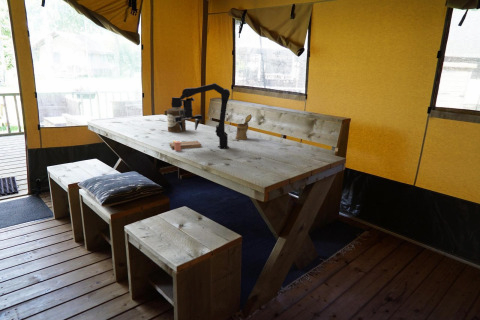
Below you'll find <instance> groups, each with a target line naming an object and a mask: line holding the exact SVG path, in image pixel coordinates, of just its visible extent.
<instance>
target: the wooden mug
mask: <svg viewBox="0 0 480 320" xmlns="http://www.w3.org/2000/svg"><path fill="white" fill-rule="evenodd" d="M252 117H253V116H252V114H249V115H246V117H245V119H244V122H243V123H237V126H236V135H235V139H236V140H239V141H242V140H243V141H244V140H247V139H248V135H247V132H248V130H249V122H250V121H252Z"/></svg>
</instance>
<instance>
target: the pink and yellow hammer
mask: <svg viewBox="0 0 480 320" xmlns="http://www.w3.org/2000/svg"><path fill="white" fill-rule="evenodd" d="M181 142H182V141H180V140H179V141H178V140H172V143H174V149H173V150H174V151H175V152H179V151H182V148H181Z"/></svg>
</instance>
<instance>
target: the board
mask: <svg viewBox="0 0 480 320" xmlns="http://www.w3.org/2000/svg"><path fill="white" fill-rule="evenodd" d="M180 142H181V149H190V148H191V149H193V148H202V143H201V142H199V141H198V140H191V141H180ZM169 147H170V148H171V150H174V143H173V142H169Z"/></svg>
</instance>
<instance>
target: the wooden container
mask: <svg viewBox="0 0 480 320" xmlns="http://www.w3.org/2000/svg"><path fill="white" fill-rule="evenodd" d="M183 109H184V108H182V107H181V108H172V107H170V108H167V109H166V115H167V116H166V117H167V121H166V122H167V131H168V132H170V133H183V132H186V130H187V128H186V126H187V125H186V120H181V122H182V126H183V131H182V130H181V128H180V125H179V123H177V122H175V121H174V116H180V114H179V111H181V110H182V111H183ZM180 117H182V115H181V116H180Z"/></svg>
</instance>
